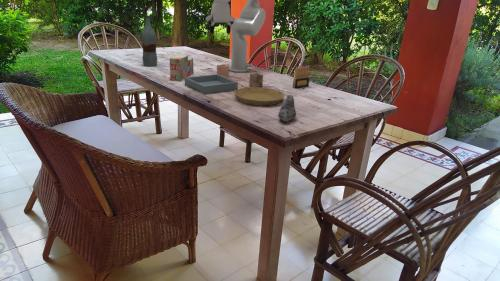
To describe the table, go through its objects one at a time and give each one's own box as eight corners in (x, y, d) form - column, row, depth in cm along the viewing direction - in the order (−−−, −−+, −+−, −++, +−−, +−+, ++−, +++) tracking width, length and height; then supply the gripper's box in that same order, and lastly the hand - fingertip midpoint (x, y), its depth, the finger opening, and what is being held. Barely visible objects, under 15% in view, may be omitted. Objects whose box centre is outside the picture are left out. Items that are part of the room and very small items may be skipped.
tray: (216, 81, 207) (216, 74, 205) (237, 89, 192) (238, 82, 191) (184, 85, 195) (184, 77, 194) (204, 94, 181) (204, 86, 179)
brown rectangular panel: (294, 88, 201) (297, 66, 196) (292, 87, 202) (294, 65, 198) (308, 86, 207) (311, 65, 202) (306, 85, 208) (308, 64, 204)
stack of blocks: (183, 72, 223) (183, 51, 218) (193, 73, 222) (193, 52, 217) (170, 80, 204) (169, 57, 199) (180, 81, 203) (180, 58, 198)
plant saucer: (255, 90, 194) (255, 84, 193) (293, 100, 180) (294, 94, 179) (223, 99, 176) (223, 92, 175) (263, 111, 163) (264, 103, 161)
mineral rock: (284, 125, 146) (286, 101, 143) (264, 118, 153) (266, 94, 150) (304, 119, 155) (307, 96, 151) (285, 112, 162) (287, 90, 158)
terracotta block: (223, 76, 219) (224, 64, 216) (228, 78, 215) (229, 65, 213) (216, 77, 216) (217, 64, 213) (221, 79, 212) (221, 66, 210)
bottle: (140, 64, 236) (137, 15, 224) (153, 63, 242) (150, 15, 230) (147, 67, 230) (144, 16, 218) (160, 66, 235) (158, 16, 224)
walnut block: (256, 85, 203) (257, 72, 200) (262, 87, 199) (263, 74, 196) (249, 86, 200) (249, 73, 197) (255, 88, 196) (255, 75, 193)
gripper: (232, 1, 208) (231, 32, 214) (203, -1, 199) (203, 32, 206) (238, 1, 202) (237, 34, 208) (209, 0, 193) (208, 34, 200)
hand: (220, 33), depth 207 cm, fingers open, 9 cm apart
